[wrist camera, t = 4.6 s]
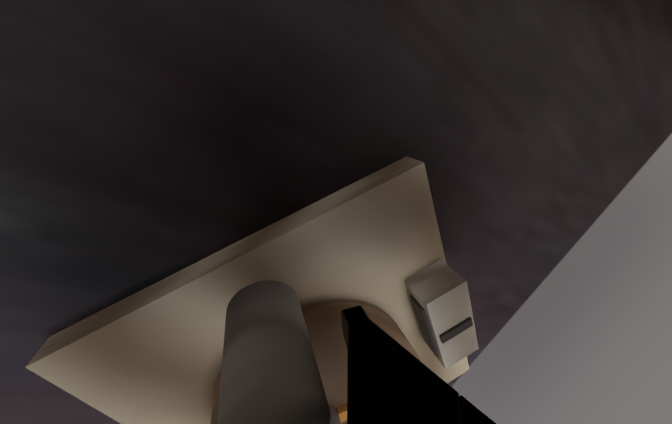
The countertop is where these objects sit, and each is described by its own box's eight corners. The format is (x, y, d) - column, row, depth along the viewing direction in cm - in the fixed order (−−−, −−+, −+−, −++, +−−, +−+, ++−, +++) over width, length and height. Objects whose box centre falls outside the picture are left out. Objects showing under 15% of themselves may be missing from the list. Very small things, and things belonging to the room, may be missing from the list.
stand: (256, 477, 20) (259, 550, 17) (49, 336, 11) (-26, 429, 8) (455, 353, 22) (492, 396, 19) (406, 156, 14) (457, 174, 10)
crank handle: (248, 470, 16) (252, 679, 10) (125, 268, 10) (-59, 536, 4) (406, 396, 19) (480, 532, 13) (395, 194, 12) (542, 284, 6)
